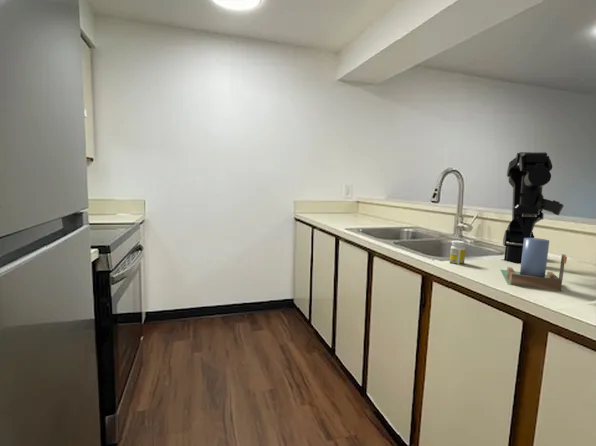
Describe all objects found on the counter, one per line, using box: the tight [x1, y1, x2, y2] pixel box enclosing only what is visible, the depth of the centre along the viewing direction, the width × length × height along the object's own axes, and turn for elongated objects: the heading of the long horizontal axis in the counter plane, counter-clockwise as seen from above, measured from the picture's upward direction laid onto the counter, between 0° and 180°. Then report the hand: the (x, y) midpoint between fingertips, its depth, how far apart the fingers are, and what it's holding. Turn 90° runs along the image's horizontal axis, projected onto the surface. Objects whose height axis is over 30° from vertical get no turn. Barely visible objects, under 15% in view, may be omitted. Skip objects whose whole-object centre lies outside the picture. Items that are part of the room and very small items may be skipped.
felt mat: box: [500, 269, 564, 293], centre depth 104 cm, size 19×13×1 cm
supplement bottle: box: [449, 240, 466, 266], centre depth 123 cm, size 5×5×8 cm
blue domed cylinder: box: [519, 237, 550, 277], centre depth 99 cm, size 6×6×13 cm
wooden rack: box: [506, 254, 568, 292], centre depth 99 cm, size 12×12×10 cm
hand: (527, 239), depth 111 cm, fingers closed
